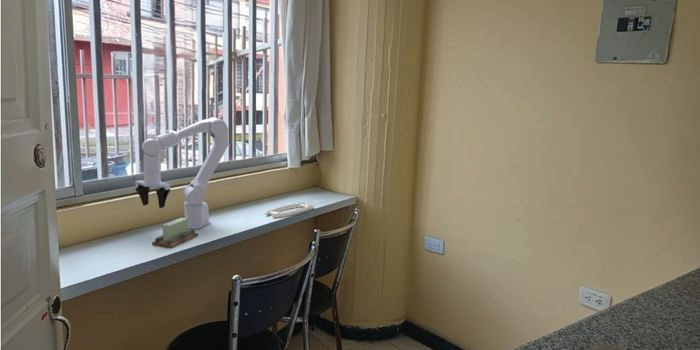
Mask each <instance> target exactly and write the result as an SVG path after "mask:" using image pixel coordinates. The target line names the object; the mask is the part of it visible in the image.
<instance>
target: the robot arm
mask: <svg viewBox="0 0 700 350" xmlns="http://www.w3.org/2000/svg"><path fill="white" fill-rule="evenodd" d="M199 133H205V134H210V136H211V138H212V142H213V145H212V147H211V148H210V151H209V153H207V156H206V157H205V159H204V161H203V163H202V165H201V166H200V169H199V171H198V172H197V174H196V176H195V178H194V179H192V180H191V181H190V183H189V184H188V185H187V186H186V187H184V189H183V192H182V193H183V197H184V198H185V201H184V203H183V205H184V209H183V211H184V218H187V219H188V229H195V230H198V229H200V228H202V227H205V226H207V225H210V224H211V221H210V218H209V217H210V214H209V212H210V211H209V210H210V209H209V206H208V204H207V202H205V201H204V200H205V193H206V191H207V187H208V183H209V182H210V180H211V177H212V176H213V175H214V172H215V170H216V168H217V167H218V165H219V163H220V162H221V159H222V158H223V157H224V156H223V155H224V154H225V152H226V150H227V148H228V146H229V127H228V126H227V123H226V122H225V121H224V120H223V119H220V118H218V117H215V116H214V117H209V118H205V119H203V120H199V121H198V122H195V123H193V124H191V125H189V126H186V127H184V128H182V129H180V130H177V131H175V130H169V129H167V130H165V131H164V133H161V134H159V135H153V136H152V138H147V139H145V140H143V143H142V145H141V149H142V151H143V154H142V155H143V156H142V157H143V160H142V161H143V179H142V180H136V181H135V180H134V181H135V183H134V184H135V191H136V192H137V194H138V195H139V197H140V200H141V203H142V206H148V205H149V200H150V199H149V194H150V188H152V189H153V188H154V189H156V190H155V192H156V193H155V194H156V195H157V200H158V207H159V209H163V208H165V205H166V202H167V201H166V200H167V197H168V195H169V193H170V192H171V183H167V182H163V181H162V178H161V159H160V153H161V151H166V150H167V149H170V148H172V147H175V146H176V145H179V144H180V141H181V140H183V139H186V138H188V137H191V136H194V135H196V134H199Z"/></svg>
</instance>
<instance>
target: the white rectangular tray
mask: <svg viewBox="0 0 700 350" xmlns="http://www.w3.org/2000/svg"><path fill="white" fill-rule="evenodd" d="M296 207H298V208H299V209H298V208H297V209H296ZM300 207H301V208H300ZM291 208H292V209H293V210H291ZM312 209H314V205H312V204H307V203H305V202H302V201H301V202H298V203H291V204H286V205H282V206H279V207H278V206H277V207H276V208H275V207H274V208H272V209H271V208H270V209H268V211H266V212H264V215H265V216H266V217H268V216H271V218H274V219H277V218H278V219H279V218H285V217H290V216H295V214H296V215H299V214H302V213H305V211H306V212H308V211H312ZM287 210H289V211H287ZM282 211H285V212H282Z"/></svg>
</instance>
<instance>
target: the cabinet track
mask: <svg viewBox="0 0 700 350" xmlns="http://www.w3.org/2000/svg"><path fill="white" fill-rule="evenodd" d="M198 236H199V233H198V232H196V229H193V228H191V229H190V230H188V232H185V233H183V234H181V235H179V236H176V237H174V238H172V239H169V240H167V242H166V241H163V234H162V235H160V236H158V237H156V238H154V241H152V242H151V244H152V246H156V247H161V248H169V249H173V248H175V247H177V246H179V245H181V244H184V243H185V242H188V241H190V240H192V239H194V238H197V237H198Z"/></svg>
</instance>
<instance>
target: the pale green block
mask: <svg viewBox="0 0 700 350" xmlns="http://www.w3.org/2000/svg"><path fill="white" fill-rule="evenodd" d="M188 231H189V228H188V219H187V218H185V217H180V218H177V219H173V220H171V221H168V222H166V223H164V224H162V235H163V241H166V242H167V240H169V239H172V238H174V237H176V236H179V235H181V234H183V233H185V232H188Z"/></svg>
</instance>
